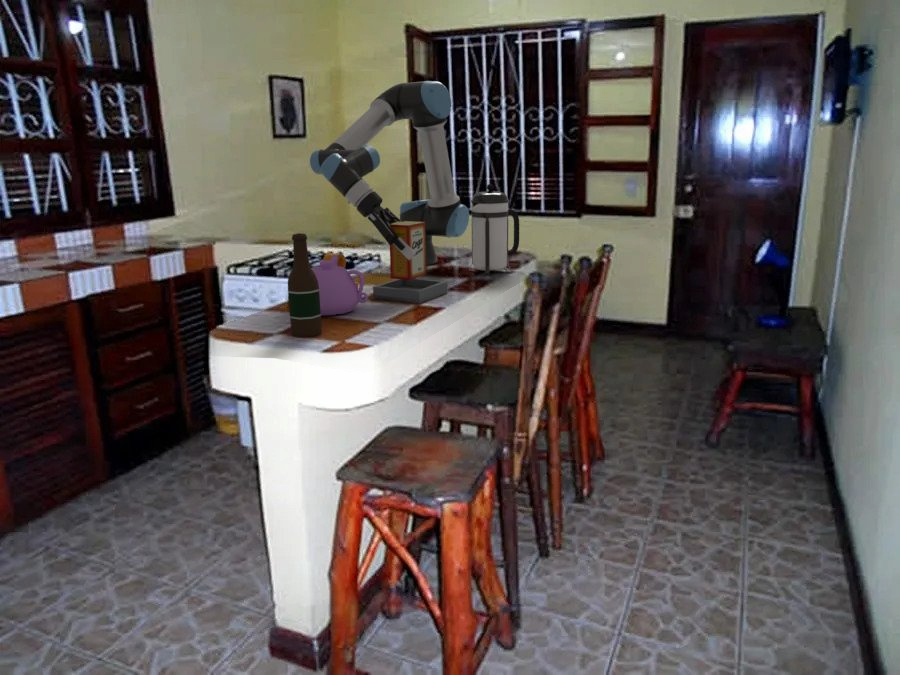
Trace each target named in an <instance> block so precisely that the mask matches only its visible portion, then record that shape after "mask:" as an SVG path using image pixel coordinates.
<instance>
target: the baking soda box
mask: <svg viewBox="0 0 900 675" xmlns="http://www.w3.org/2000/svg"><path fill="white" fill-rule="evenodd" d="M390 226H391V227H392V228H393V230H394V231H395V233H396V234H397V236H398V238H399V237H401V239H402V240H403V241H404V242H405V243H406V244H407V245H408V246H409V247H410V248H411V249H412V250H413V251H414V252H415V253H416V254H415V255H414V256H413V257H412V258H411V259H410V260H408V259H407V258H406V257H405V256H404V255H403V254H402V253H401V252H400V251H399V250H398V249H397V248H396V247H395V245H394V244H392V245H389V262H390V263H389V264H390V279H392V280H395V279H403V280H412V279H415V278H416V279H419V278H421V277H424V276H427V265H426V234H425V222H414V221H404V222H396V223H392V224H390ZM398 238H397V239H398Z"/></svg>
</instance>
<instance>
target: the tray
mask: <svg viewBox="0 0 900 675" xmlns="http://www.w3.org/2000/svg"><path fill="white" fill-rule="evenodd" d="M447 292H448V281H447V280H446V281H445V280H436V279H435V280H434V279H426V278H425V279H424V278H415V279H412V280H403V279H392V280H390V281H386V282H384V283H383V282H382V283H380V284H377V285H373V286H372V293H373V294H372V295H373V297H372V298H373V299H375V298H378V300H384V299H386V301H392V300H395V301H394V302H401V301H404V302H403V303H410V302H411V303H412V304H418V305H419V304H422V303H426V302H427V301H430V300H432V298H433V299H435V298H438V297H440V296H439V295H441V296H443V295H445V294H444V293H446V294H448V293H447ZM442 294H443V295H442ZM437 296H438V297H437ZM411 303H410V304H411Z"/></svg>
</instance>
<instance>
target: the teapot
mask: <svg viewBox="0 0 900 675" xmlns="http://www.w3.org/2000/svg"><path fill="white" fill-rule="evenodd" d="M337 258H338V256H337V255H333V256H332V258H331V261H323V260H320V261H319V262H318V263H319V266H315V267H314V266H313V267H310V268H311V269H312V270H313V272H314V273H315V275H316V277H317V280H318V285H319V296H320V310H321V316H337V315H336V314H342V315H343V314H347V313H350V312H351V311H354V310H355V309H356V308H357V306H358V304H360V303H361V304H364V303H367V302H368V300H369V295H368V293H367V292H363V290H364V285H365V276H364V274H363V272H361V271H359V270H356V269H350V270H347V269H346V267H345V268H344V267H340V266H338V265H337ZM352 275H357V276H358V277H359V285H358V288H357V286H356V283H355V282H356V281H355V280H354V279H353V277H352ZM362 296H363V297H364V298H362ZM287 301H288V302H289V297H288V296H287Z"/></svg>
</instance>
